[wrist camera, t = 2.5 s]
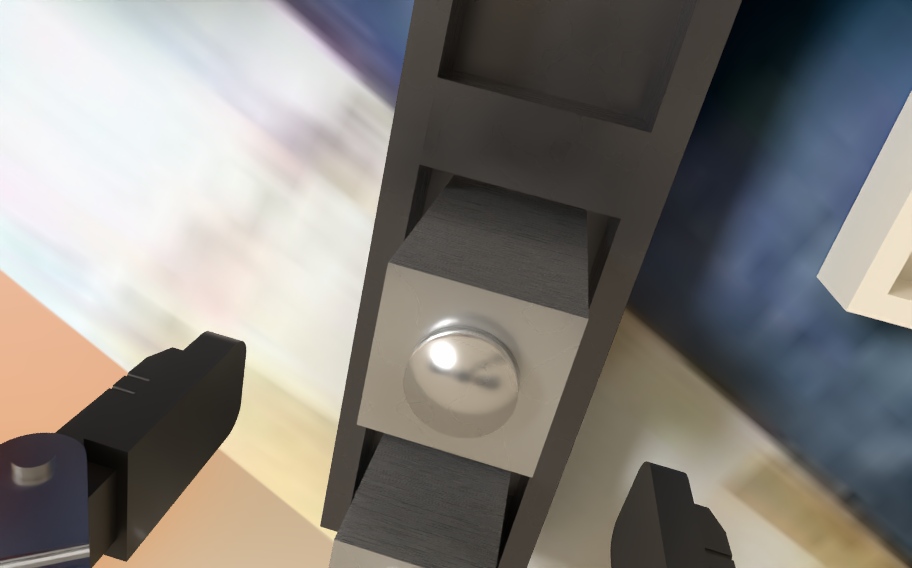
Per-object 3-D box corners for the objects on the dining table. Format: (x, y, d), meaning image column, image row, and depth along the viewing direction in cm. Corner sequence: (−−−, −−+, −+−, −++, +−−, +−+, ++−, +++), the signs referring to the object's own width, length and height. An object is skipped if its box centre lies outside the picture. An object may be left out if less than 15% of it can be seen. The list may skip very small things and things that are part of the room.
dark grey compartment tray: (761, -116, 17) (794, -138, 15) (525, 531, 27) (518, 588, 25) (473, -183, 18) (453, -216, 15) (345, 475, 28) (320, 526, 25)
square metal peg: (519, 418, 25) (489, 608, 17) (490, 505, 27) (452, 712, 19) (406, 384, 25) (326, 556, 17) (386, 473, 27) (306, 663, 19)
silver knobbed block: (586, 211, 21) (588, 331, 13) (548, 328, 23) (530, 494, 15) (454, 175, 21) (380, 272, 14) (426, 294, 23) (348, 439, 16)
